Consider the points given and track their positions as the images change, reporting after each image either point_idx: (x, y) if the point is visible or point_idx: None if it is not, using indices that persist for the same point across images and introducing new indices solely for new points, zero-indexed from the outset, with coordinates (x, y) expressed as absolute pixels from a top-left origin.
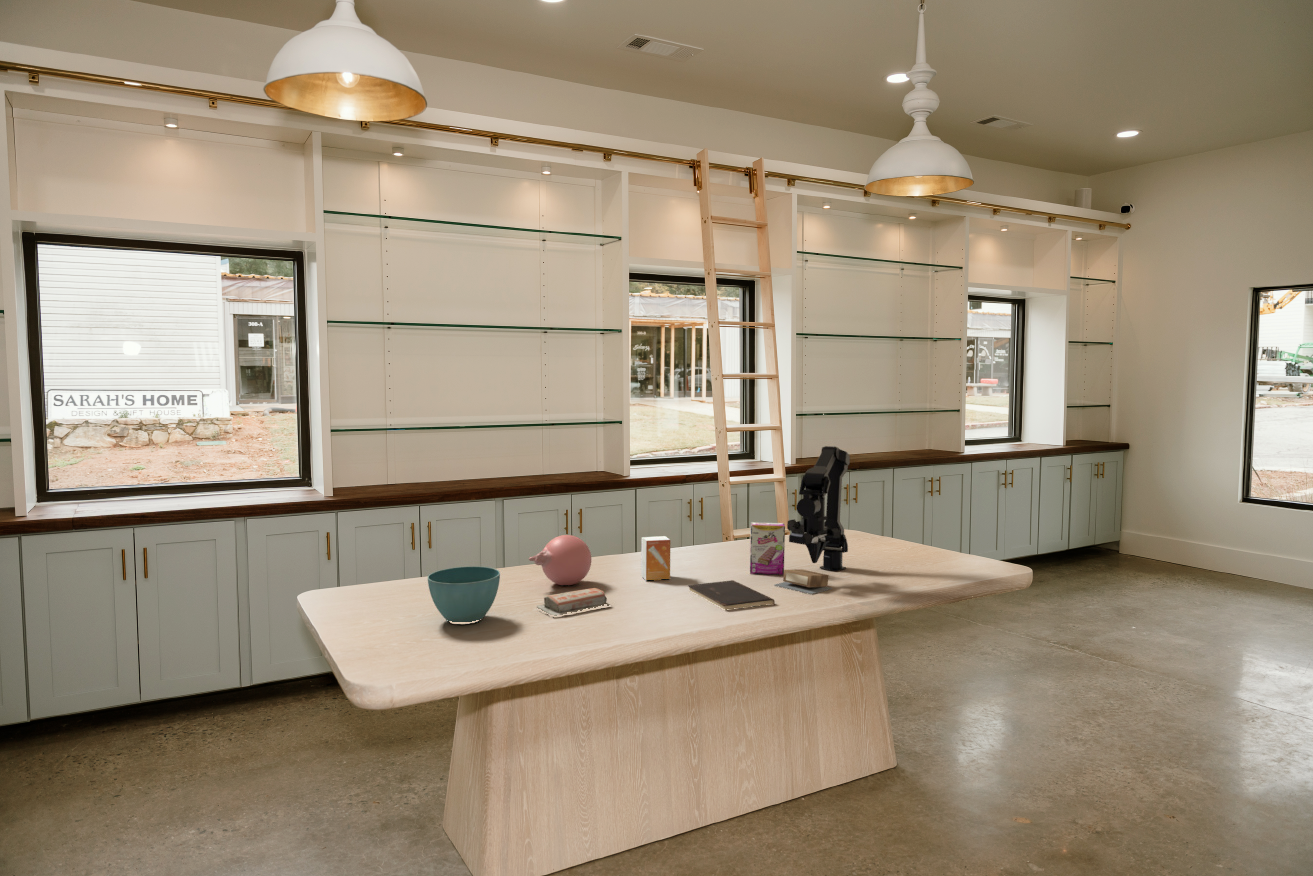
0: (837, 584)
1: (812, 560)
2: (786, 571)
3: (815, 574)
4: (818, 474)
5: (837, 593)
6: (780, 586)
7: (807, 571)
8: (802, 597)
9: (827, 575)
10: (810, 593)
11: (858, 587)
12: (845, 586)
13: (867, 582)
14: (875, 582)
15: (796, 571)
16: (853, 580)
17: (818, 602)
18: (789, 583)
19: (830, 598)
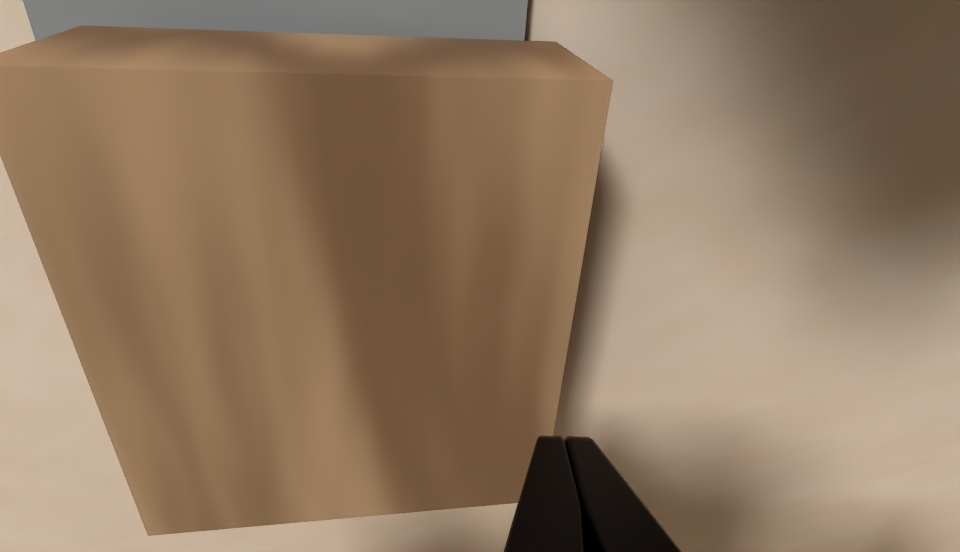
0: (682, 402)
1: (525, 484)
2: (3, 126)
3: (341, 475)
4: None
5: (393, 521)
6: (35, 34)
7: (465, 285)
8: (26, 423)
9: (518, 497)
10: None
11: (687, 535)
12: (653, 470)
13: (904, 514)
14: (933, 544)
15: (175, 267)
16: (930, 423)
17: (61, 546)
18: None
19: (227, 548)
